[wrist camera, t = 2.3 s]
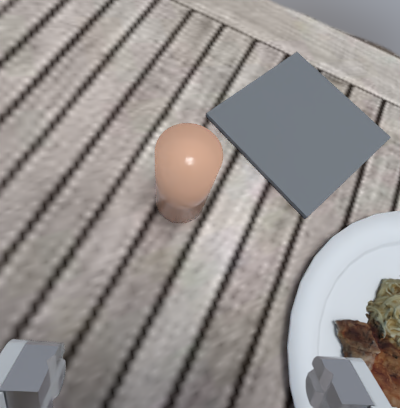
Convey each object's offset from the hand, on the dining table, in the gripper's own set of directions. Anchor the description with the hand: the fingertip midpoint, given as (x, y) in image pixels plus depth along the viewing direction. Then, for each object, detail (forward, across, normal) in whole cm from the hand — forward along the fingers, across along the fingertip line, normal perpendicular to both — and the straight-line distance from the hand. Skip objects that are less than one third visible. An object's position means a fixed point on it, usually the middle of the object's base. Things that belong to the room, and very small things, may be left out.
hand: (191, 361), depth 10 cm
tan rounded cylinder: (+22, 0, +4) cm, 23 cm away
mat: (+30, -13, -3) cm, 33 cm away
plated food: (+13, -25, +15) cm, 32 cm away
